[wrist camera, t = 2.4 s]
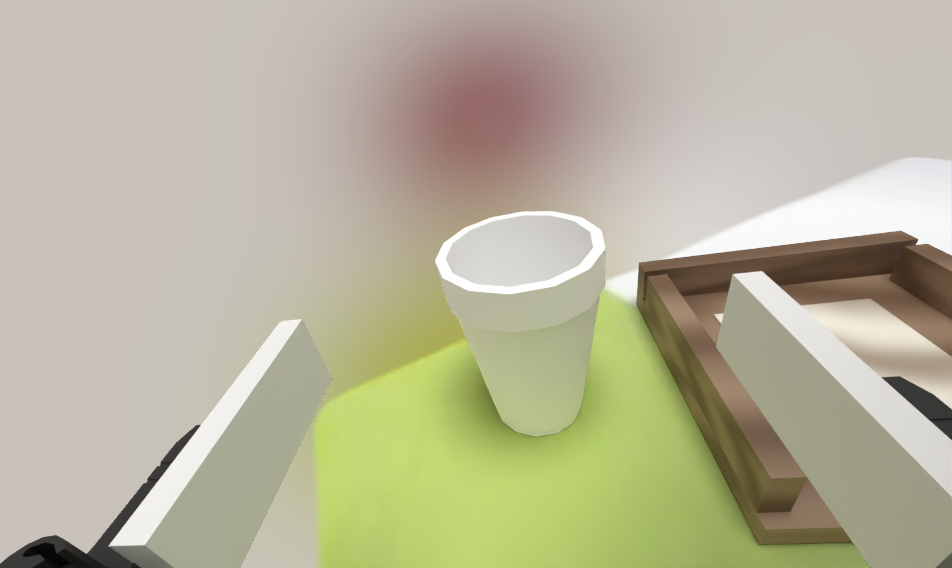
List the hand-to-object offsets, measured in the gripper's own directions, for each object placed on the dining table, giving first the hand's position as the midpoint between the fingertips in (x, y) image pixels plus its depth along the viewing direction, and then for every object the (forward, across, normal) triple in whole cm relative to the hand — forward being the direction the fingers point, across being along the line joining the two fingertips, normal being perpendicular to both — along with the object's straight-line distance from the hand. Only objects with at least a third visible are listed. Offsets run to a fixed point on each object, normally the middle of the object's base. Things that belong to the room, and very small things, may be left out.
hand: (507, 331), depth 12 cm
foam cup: (+10, +1, -15) cm, 18 cm away
